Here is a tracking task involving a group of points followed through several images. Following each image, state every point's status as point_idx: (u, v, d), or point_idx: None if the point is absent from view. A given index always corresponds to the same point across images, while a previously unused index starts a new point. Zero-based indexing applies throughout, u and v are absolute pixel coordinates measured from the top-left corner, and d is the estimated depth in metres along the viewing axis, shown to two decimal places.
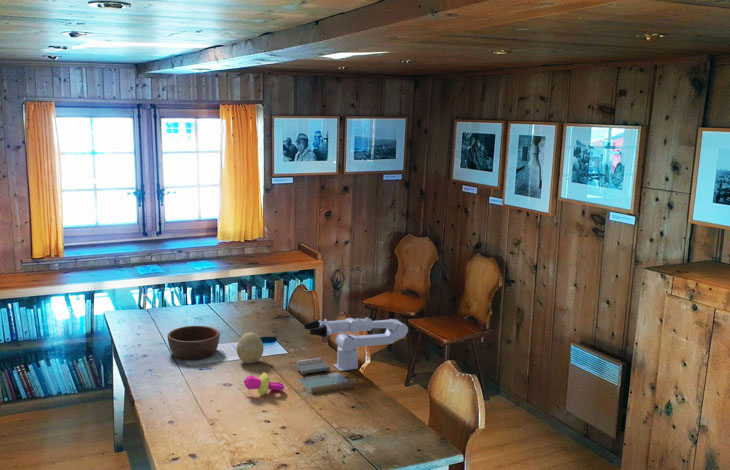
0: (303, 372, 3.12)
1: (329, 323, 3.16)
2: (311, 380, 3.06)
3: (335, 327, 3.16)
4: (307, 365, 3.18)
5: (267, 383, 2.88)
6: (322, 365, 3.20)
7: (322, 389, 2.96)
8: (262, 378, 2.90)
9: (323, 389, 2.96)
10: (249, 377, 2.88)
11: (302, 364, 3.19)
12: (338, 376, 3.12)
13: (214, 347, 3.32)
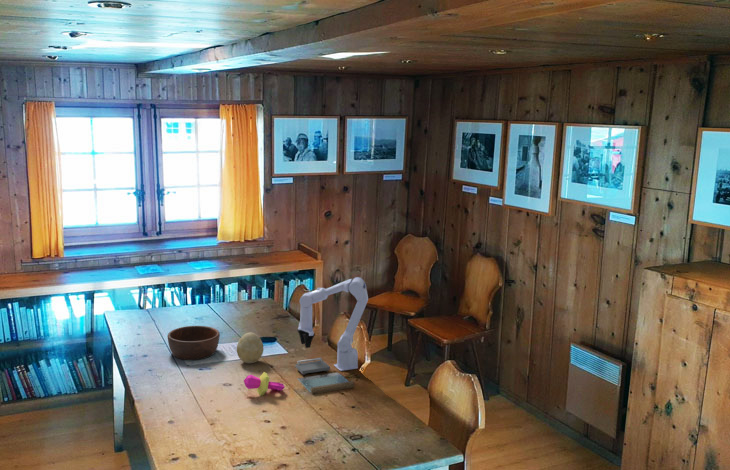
0: (303, 372, 3.12)
1: (302, 326, 3.21)
2: (311, 380, 3.06)
3: (306, 321, 3.21)
4: (307, 365, 3.18)
5: (267, 383, 2.88)
6: (322, 365, 3.20)
7: (322, 389, 2.96)
8: (262, 378, 2.90)
9: (323, 389, 2.96)
10: (249, 376, 2.89)
11: (302, 364, 3.19)
12: (338, 376, 3.12)
13: (214, 347, 3.32)
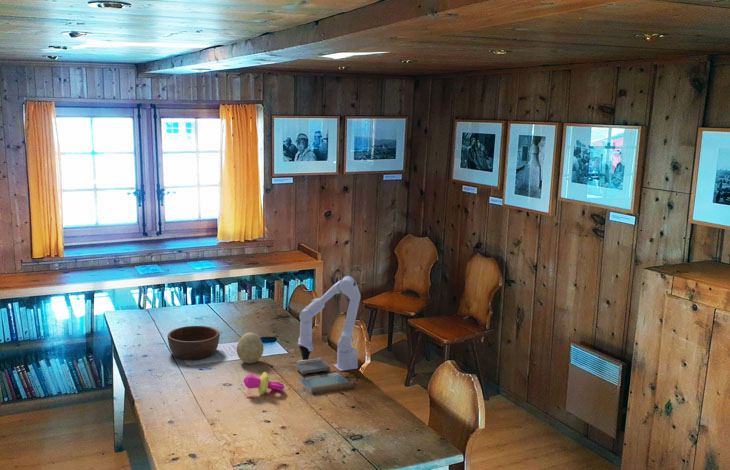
0: (303, 372, 3.12)
1: (302, 341, 3.23)
2: (311, 380, 3.06)
3: (306, 336, 3.22)
4: (307, 365, 3.18)
5: (266, 382, 2.88)
6: (322, 365, 3.20)
7: (322, 389, 2.96)
8: (262, 377, 2.91)
9: (323, 389, 2.96)
10: (249, 376, 2.89)
11: (302, 364, 3.19)
12: (338, 376, 3.12)
13: (214, 347, 3.32)
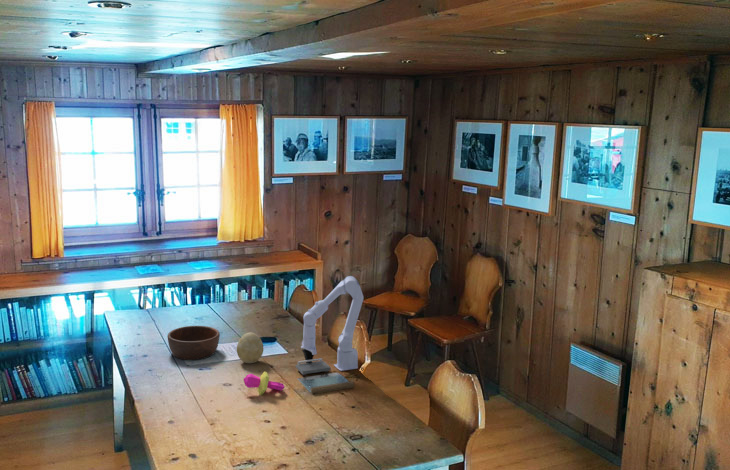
0: (303, 372, 3.11)
1: (305, 345, 3.19)
2: (311, 380, 3.06)
3: (310, 340, 3.18)
4: (308, 366, 3.18)
5: (266, 382, 2.88)
6: (322, 365, 3.19)
7: (322, 389, 2.96)
8: (262, 377, 2.91)
9: (323, 389, 2.96)
10: (249, 375, 2.90)
11: (302, 364, 3.19)
12: (338, 376, 3.12)
13: (214, 347, 3.32)
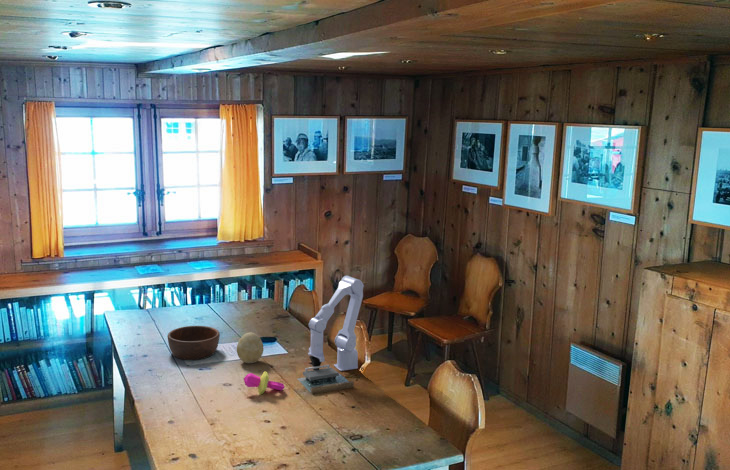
0: (311, 378, 3.03)
1: (312, 351, 3.11)
2: None
3: (317, 346, 3.10)
4: (315, 372, 3.09)
5: (266, 382, 2.89)
6: (330, 371, 3.10)
7: (322, 389, 2.96)
8: (262, 377, 2.92)
9: (323, 389, 2.96)
10: (249, 375, 2.90)
11: (310, 371, 3.10)
12: (338, 376, 3.12)
13: (214, 347, 3.32)
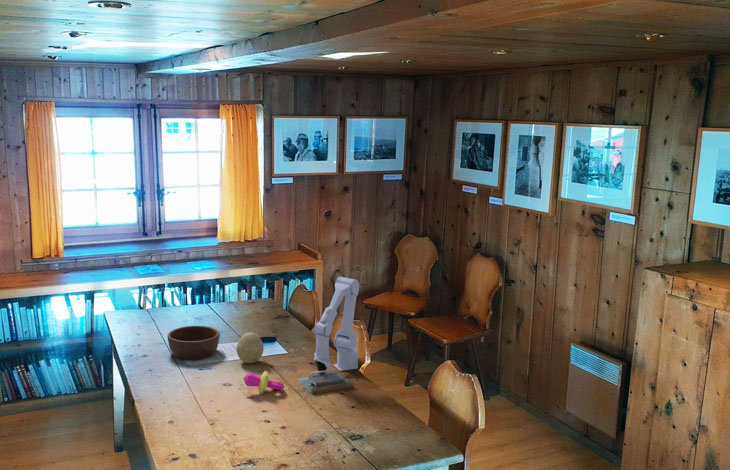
0: (317, 384, 2.97)
1: (318, 356, 3.05)
2: None
3: (323, 351, 3.04)
4: (321, 377, 3.03)
5: (265, 381, 2.89)
6: (336, 376, 3.04)
7: (322, 389, 2.96)
8: (262, 376, 2.92)
9: (323, 389, 2.96)
10: (249, 374, 2.91)
11: (315, 376, 3.04)
12: None
13: (214, 347, 3.32)
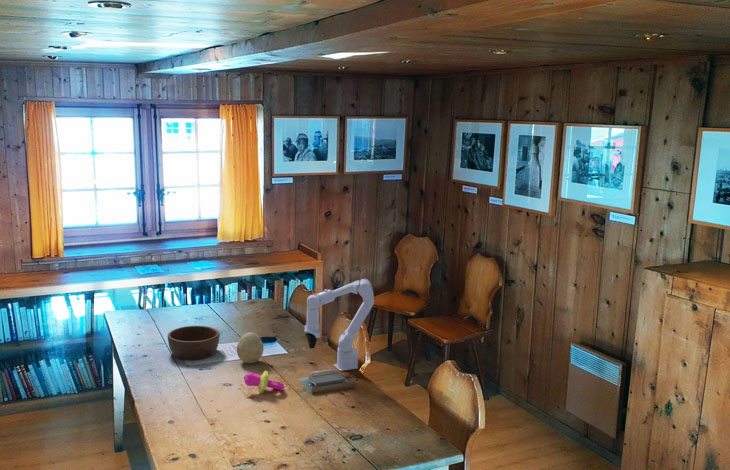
0: (317, 384, 2.97)
1: (308, 328, 3.19)
2: None
3: (313, 323, 3.18)
4: (321, 377, 3.03)
5: (265, 381, 2.89)
6: (336, 376, 3.04)
7: (322, 389, 2.96)
8: (262, 376, 2.92)
9: (323, 389, 2.96)
10: (249, 374, 2.91)
11: (315, 376, 3.04)
12: None
13: (214, 347, 3.32)
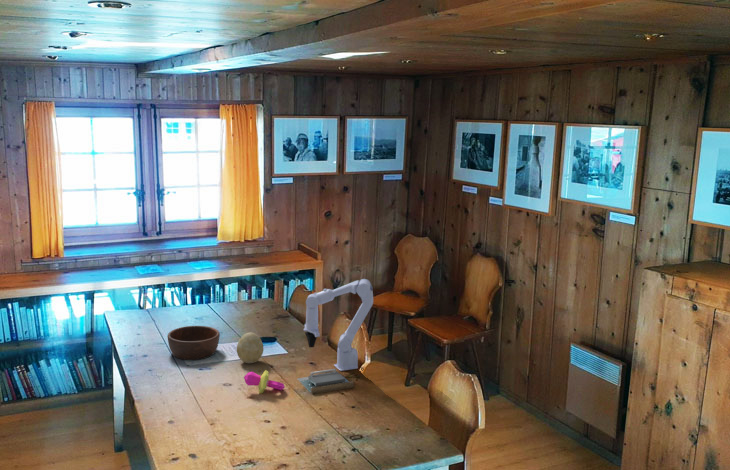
0: (317, 384, 2.97)
1: (308, 327, 3.20)
2: None
3: (312, 322, 3.19)
4: (321, 377, 3.03)
5: (265, 381, 2.90)
6: (336, 376, 3.04)
7: (322, 389, 2.96)
8: (262, 376, 2.93)
9: (323, 389, 2.96)
10: (249, 373, 2.92)
11: (315, 376, 3.04)
12: None
13: (214, 347, 3.32)
